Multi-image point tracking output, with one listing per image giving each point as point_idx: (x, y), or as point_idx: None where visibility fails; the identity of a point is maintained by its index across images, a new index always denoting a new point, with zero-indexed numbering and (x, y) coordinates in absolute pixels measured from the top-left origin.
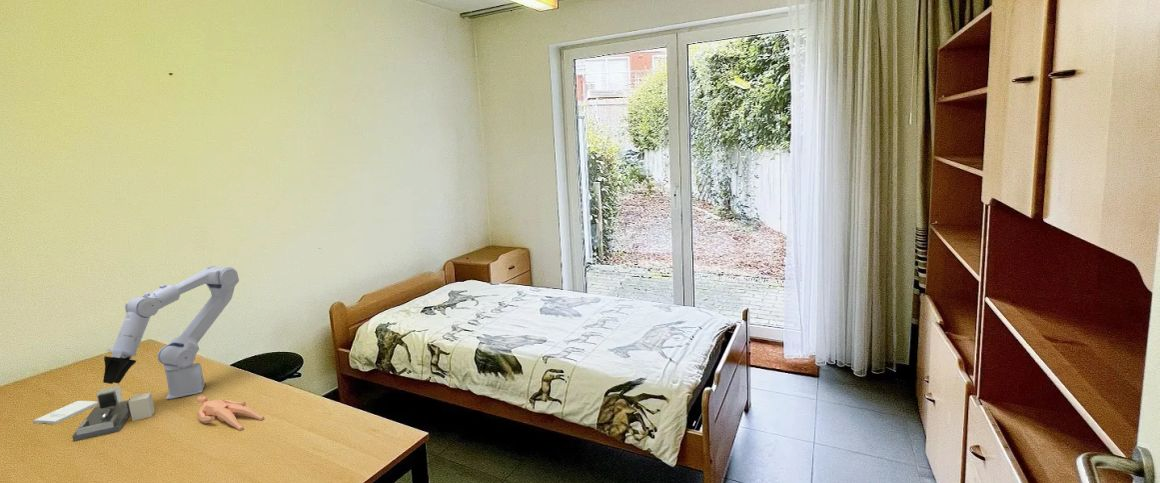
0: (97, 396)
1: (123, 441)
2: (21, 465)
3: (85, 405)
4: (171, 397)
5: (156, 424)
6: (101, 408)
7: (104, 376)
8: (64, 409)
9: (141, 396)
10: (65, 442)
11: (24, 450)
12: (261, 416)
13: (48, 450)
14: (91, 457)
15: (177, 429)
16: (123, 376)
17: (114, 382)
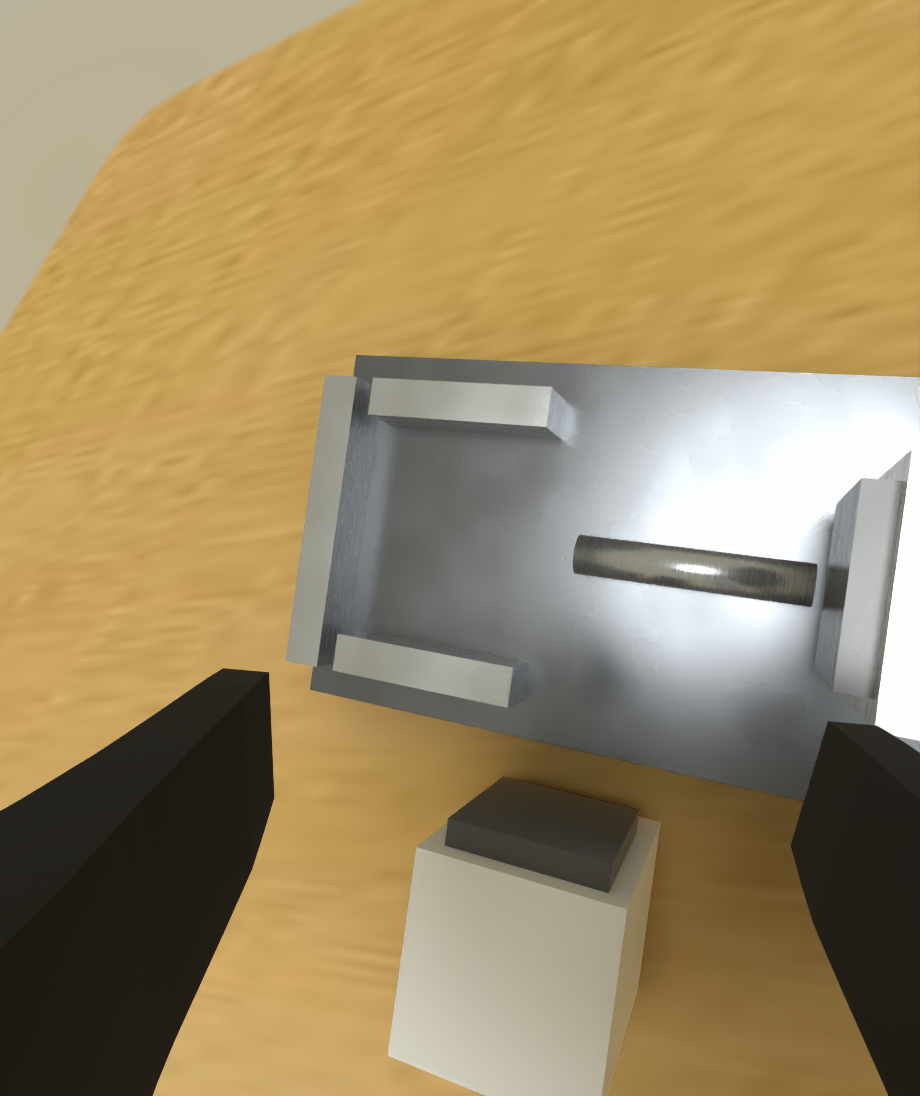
0: (898, 468)
1: (128, 713)
2: (198, 140)
3: None
4: None
5: (269, 946)
6: (836, 513)
7: (133, 732)
8: None
9: (508, 1007)
10: (401, 313)
11: (461, 38)
12: None
13: (329, 232)
14: (32, 543)
15: None
16: (873, 1020)
17: (808, 789)
